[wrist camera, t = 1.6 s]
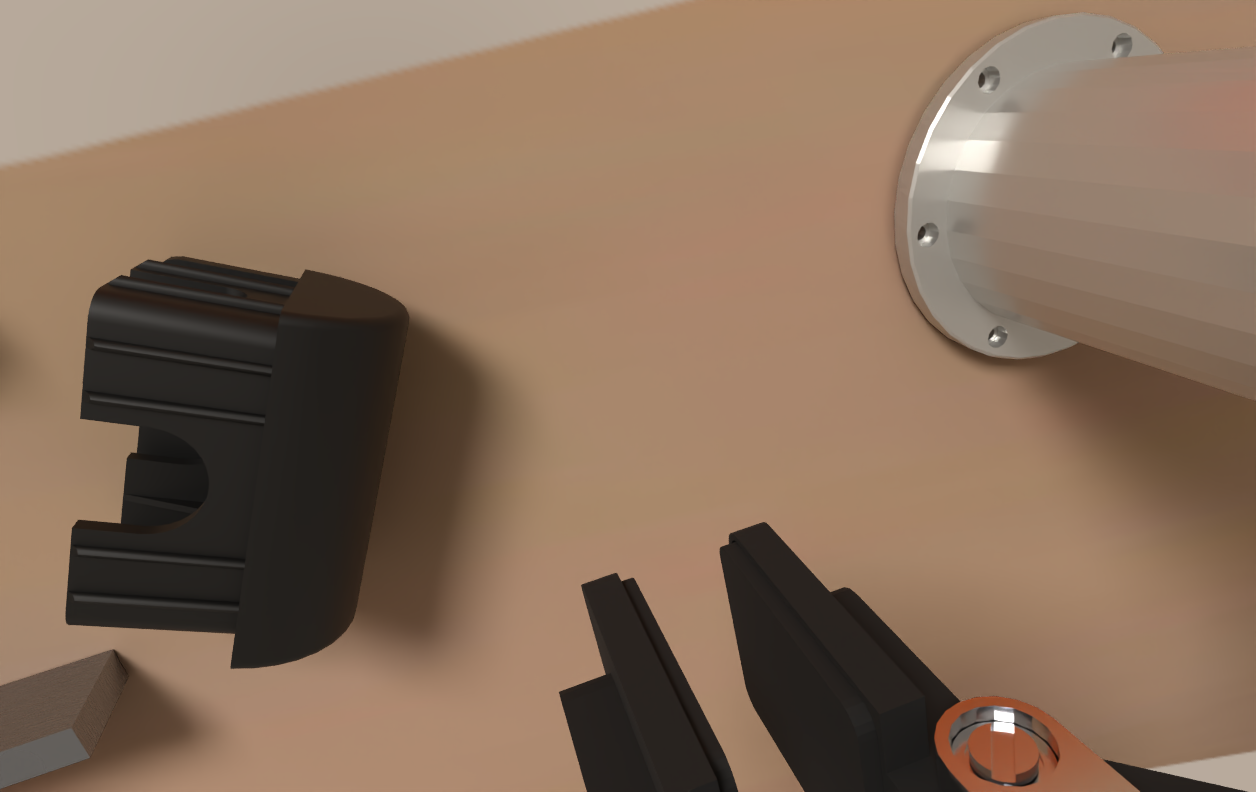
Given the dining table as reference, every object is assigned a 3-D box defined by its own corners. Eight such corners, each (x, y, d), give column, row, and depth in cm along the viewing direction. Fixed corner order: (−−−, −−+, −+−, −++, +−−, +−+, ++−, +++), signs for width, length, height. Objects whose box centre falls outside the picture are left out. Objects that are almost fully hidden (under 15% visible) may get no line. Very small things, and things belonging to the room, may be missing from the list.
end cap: (359, 556, 28) (349, 677, 22) (134, 536, 26) (53, 666, 20) (408, 284, 26) (412, 336, 20) (163, 235, 24) (80, 278, 17)
